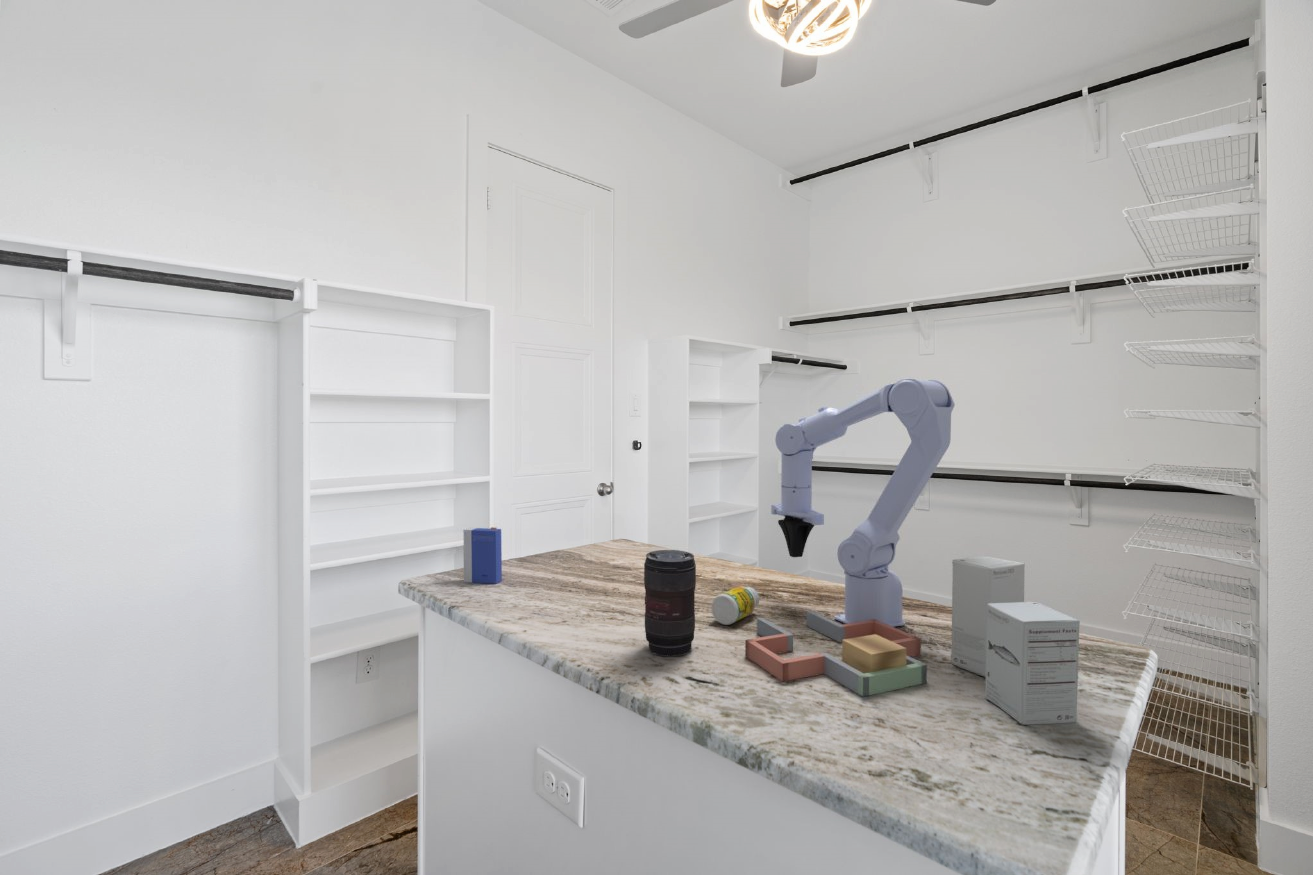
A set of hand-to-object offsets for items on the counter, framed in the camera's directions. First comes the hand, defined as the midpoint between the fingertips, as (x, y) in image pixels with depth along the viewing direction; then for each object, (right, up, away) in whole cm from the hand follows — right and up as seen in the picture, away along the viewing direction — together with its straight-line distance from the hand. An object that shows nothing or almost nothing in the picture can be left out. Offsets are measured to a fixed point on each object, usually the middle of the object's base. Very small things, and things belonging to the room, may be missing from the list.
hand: (796, 556), depth 122 cm
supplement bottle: (-16, -7, -12) cm, 21 cm away
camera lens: (-25, -11, -23) cm, 35 cm away
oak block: (+3, -11, -34) cm, 36 cm away
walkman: (-66, -9, +18) cm, 68 cm away
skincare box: (+21, -11, -30) cm, 38 cm away
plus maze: (0, -10, -26) cm, 28 cm away
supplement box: (+19, -11, -44) cm, 49 cm away
